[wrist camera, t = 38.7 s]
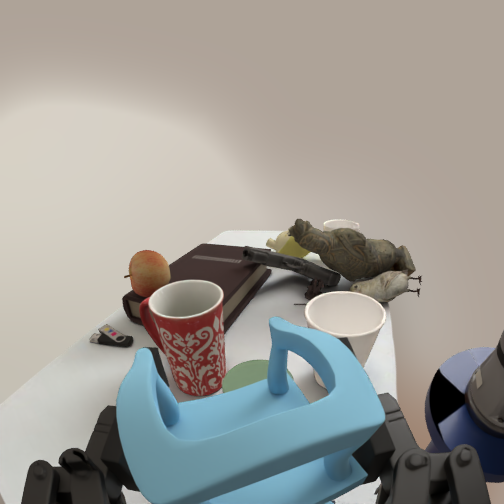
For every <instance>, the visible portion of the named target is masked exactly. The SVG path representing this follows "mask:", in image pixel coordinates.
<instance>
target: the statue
mask: <svg viewBox="0 0 504 504" xmlns="http://www.w3.org/2000/svg"><path fill="white" fill-rule="evenodd" d="M289 234H290V235H291V236H293V237H294V240H295V242H297V243H298V244H299V245H300V246H301V247H302V248H304V249H306V250H308V251H311V252H313V253H316V254H319V256H320V258H321V260H322V262H323V263H324V264H325V265H326V266H327V267H329V268H330V269H332V270H334V271H337V272H338V273H340V274H341V275H342V276H343V277H345V278H346V279H347V280H349V281H350V282H352V281H355V280H357V279H361V278H369V277H371V278H374V277H376V276H378V275H380V274H382V273H384V272H387V271H403V270H407V269H408V271H407V272H408V274H407V276H410V275H411V274H412V273H413V272H414V271H415V266H414V264H413V261H412V259H411V256H410V254H409V252H408V250H407V248H406V247H405V246H400V247H399V248H395V246H394V244H392V243H391V242H389V241H388V240H384V239H383V240H374V239H366V238H365V237H364V235H363V234H361V233H359V232H357V231H355V230H353V229H351V228H338V229H334V230H332V231H323V232H322V231H321V230H319V229H316V228H313V227H312V225H311V224H310V223H309V222H308V221H306V222H305V221H303V220H302V219H297V220H296V222H295V225H294V226H292V227H291V228H290V229H289Z"/></svg>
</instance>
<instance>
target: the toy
mask: <svg viewBox="0 0 504 504" xmlns="http://www.w3.org/2000/svg"><path fill="white" fill-rule="evenodd" d="M289 229H290V228H289ZM289 229H288V231H285V232H282V233H281V234H279V236H278V237H277V239H276V241H275V240H273V239H271V238H270V239H268V241H267V243H266V246H267V247H270V248H272V249H274V250H276V253H281V254H285V255H289V256H294V257H298V258H302V257H304V256H306V255H307V254H309V253H310V252H311V251H308V250H306V249H304V248H302V247H301V246H300V245H299V244H298V243H297V242H295V240H294V237H293V236H291V235H290V234H289Z"/></svg>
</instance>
